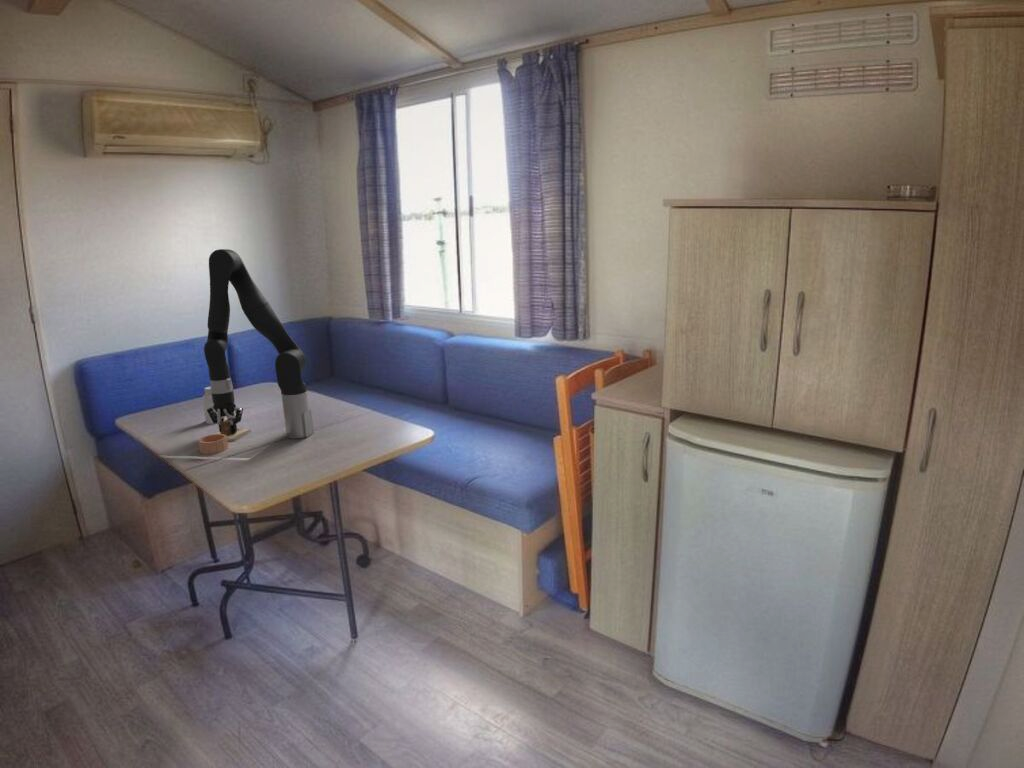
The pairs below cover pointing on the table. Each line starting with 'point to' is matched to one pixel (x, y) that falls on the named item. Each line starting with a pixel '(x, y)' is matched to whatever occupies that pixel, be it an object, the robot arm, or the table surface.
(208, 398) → the pill bottle
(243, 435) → the mat
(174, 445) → the table surface
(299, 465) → the table surface
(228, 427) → the lid
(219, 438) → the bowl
